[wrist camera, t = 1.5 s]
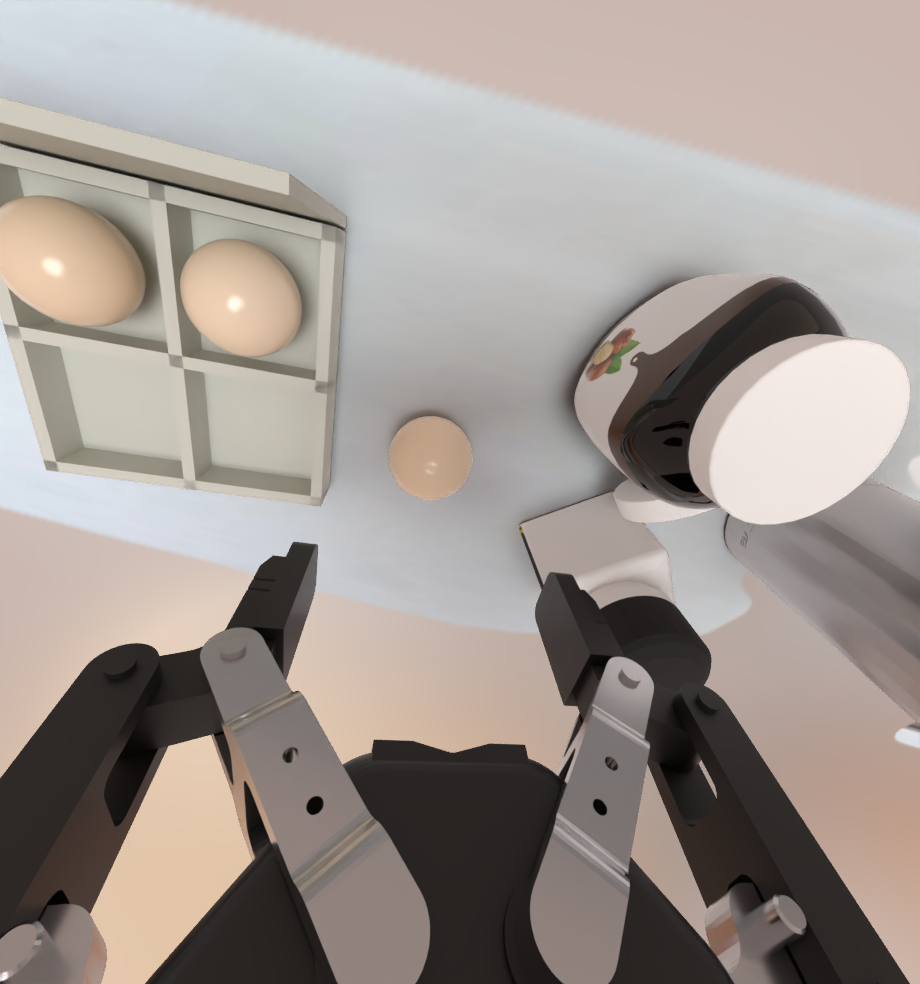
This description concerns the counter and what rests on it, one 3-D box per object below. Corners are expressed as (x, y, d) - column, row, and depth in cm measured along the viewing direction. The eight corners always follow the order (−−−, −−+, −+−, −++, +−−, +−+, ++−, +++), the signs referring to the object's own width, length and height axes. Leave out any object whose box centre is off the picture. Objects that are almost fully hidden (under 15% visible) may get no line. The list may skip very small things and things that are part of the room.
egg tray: (346, 216, 19) (289, 173, 11) (329, 486, 26) (285, 587, 18) (2, 130, 17) (-404, -8, 9) (81, 451, 24) (-105, 548, 15)
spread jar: (680, 248, 21) (918, 225, 11) (778, 387, 25) (1017, 465, 15) (519, 417, 25) (585, 517, 15) (627, 514, 29) (737, 645, 19)
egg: (475, 413, 24) (486, 441, 20) (460, 482, 27) (466, 521, 22) (396, 398, 24) (391, 425, 19) (387, 471, 26) (379, 509, 22)
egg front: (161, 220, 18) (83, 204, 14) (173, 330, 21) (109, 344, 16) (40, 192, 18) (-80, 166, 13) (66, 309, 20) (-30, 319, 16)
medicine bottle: (516, 522, 29) (571, 667, 18) (614, 487, 28) (730, 617, 17) (542, 592, 32) (600, 748, 21) (630, 562, 31) (735, 709, 21)
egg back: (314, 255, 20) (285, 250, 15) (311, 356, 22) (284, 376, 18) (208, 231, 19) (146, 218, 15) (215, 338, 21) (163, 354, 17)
